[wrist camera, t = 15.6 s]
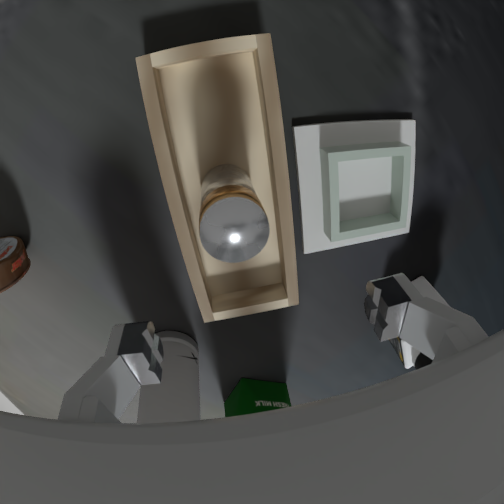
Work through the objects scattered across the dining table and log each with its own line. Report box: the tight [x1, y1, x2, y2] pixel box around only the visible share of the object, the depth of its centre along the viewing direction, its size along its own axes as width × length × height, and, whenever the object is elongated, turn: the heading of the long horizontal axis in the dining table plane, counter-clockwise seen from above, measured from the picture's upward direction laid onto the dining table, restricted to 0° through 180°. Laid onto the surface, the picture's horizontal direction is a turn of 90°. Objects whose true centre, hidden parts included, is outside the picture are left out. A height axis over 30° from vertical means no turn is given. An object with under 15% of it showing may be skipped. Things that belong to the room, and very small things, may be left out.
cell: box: [199, 164, 270, 263], centre depth 21 cm, size 4×4×8 cm
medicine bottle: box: [389, 276, 450, 370], centre depth 31 cm, size 7×7×12 cm
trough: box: [136, 33, 299, 323], centre depth 23 cm, size 9×23×4 cm, turn 8°
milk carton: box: [224, 378, 291, 417], centre depth 33 cm, size 9×9×20 cm
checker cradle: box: [292, 119, 415, 254], centre depth 25 cm, size 12×12×3 cm
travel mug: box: [137, 331, 201, 423], centre depth 25 cm, size 6×7×20 cm
